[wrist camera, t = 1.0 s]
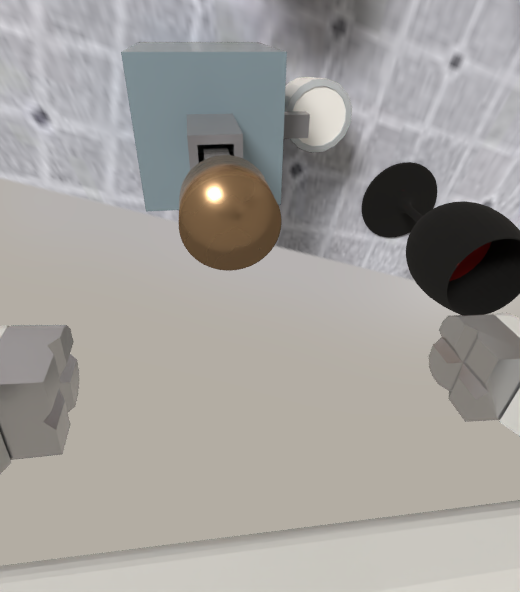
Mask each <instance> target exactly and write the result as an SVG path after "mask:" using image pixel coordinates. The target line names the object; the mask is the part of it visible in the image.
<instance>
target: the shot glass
mask: <svg viewBox="0 0 520 592" xmlns="http://www.w3.org/2000/svg"><path fill="white" fill-rule="evenodd" d="M290 111H306V112H307V113H309V114H310V120H309V135H308V138H292V139H290V140H291V141H292V142H293V143H294V144H295V145H296V146H297V147H298V148H299V149H302V150H305V151H308V152H311V153H312V152H324V151H326V150H328V149H330V148H332V147H333V146H335V145H336V144H337V143H338V142H339V141H340V140H341V139H342V138H343V137H344V136H345V134H346V132H347V130H348V127H349V125H350V123H351V115H352V105H351V102H350V99H349V95H348V93H347V92H346V91H345V90H344V89H343V87H342V86H341V85H340V84H339V83H336V82H334V81H332V80H329V79H326V78H313V77H302V78H296V79H295V80H293V81H291V82H289V83H288V84H287V85H286V87H285V111H284V112H290Z"/></svg>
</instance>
